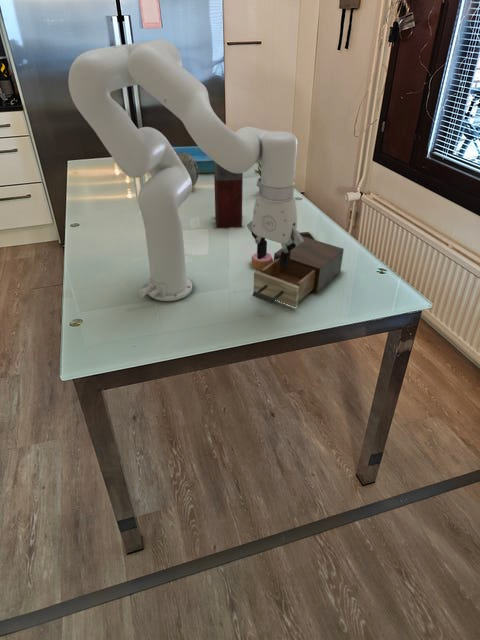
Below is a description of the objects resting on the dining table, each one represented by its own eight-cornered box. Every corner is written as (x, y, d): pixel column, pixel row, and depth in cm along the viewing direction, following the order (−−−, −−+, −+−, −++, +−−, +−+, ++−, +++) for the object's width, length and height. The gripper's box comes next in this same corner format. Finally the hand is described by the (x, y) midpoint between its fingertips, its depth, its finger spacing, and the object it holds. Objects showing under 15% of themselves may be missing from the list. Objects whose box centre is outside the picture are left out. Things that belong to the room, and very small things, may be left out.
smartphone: (309, 231, 158) (324, 251, 146) (308, 233, 159) (324, 254, 147) (289, 233, 157) (302, 253, 145) (288, 235, 158) (302, 256, 146)
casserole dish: (152, 177, 205) (150, 161, 201) (153, 161, 223) (152, 146, 219) (235, 174, 209) (235, 158, 204) (230, 159, 227) (230, 144, 222)
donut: (264, 272, 138) (265, 263, 136) (248, 266, 141) (248, 257, 139) (275, 264, 142) (276, 255, 140) (259, 258, 144) (259, 250, 143)
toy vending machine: (238, 214, 172) (239, 135, 156) (242, 227, 163) (243, 145, 147) (214, 215, 172) (212, 136, 155) (216, 227, 163) (215, 145, 146)
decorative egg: (194, 195, 188) (192, 157, 179) (167, 193, 190) (163, 155, 181) (201, 185, 197) (200, 149, 189) (175, 183, 199) (172, 147, 190)
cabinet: (317, 294, 128) (320, 268, 123) (272, 278, 135) (274, 253, 130) (340, 272, 138) (343, 248, 133) (297, 259, 145) (299, 235, 140)
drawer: (283, 318, 117) (285, 298, 113) (241, 301, 123) (241, 281, 119) (319, 286, 130) (322, 267, 126) (279, 272, 136) (280, 253, 132)
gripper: (236, 187, 106) (236, 256, 117) (302, 204, 98) (295, 277, 109) (254, 178, 111) (253, 246, 122) (318, 194, 103) (310, 265, 114)
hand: (273, 260), depth 115 cm, fingers open, 6 cm apart
